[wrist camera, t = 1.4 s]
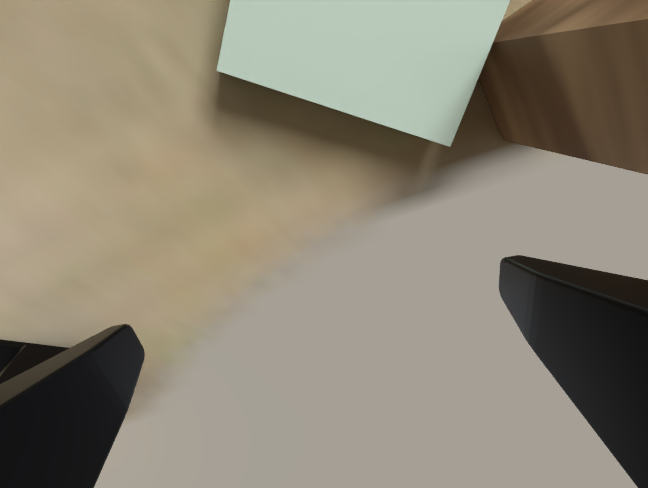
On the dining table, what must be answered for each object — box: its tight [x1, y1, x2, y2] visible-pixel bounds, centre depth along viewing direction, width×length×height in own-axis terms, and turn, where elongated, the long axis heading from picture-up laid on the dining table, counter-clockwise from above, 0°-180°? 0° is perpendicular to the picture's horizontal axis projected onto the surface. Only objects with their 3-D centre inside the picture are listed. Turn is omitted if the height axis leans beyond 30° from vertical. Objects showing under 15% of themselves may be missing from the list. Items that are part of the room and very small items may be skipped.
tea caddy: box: [479, 0, 648, 174], centre depth 15 cm, size 4×6×12 cm
